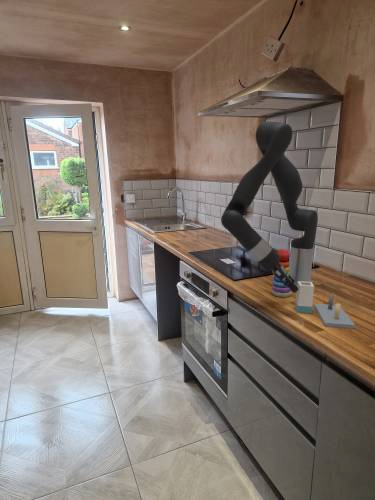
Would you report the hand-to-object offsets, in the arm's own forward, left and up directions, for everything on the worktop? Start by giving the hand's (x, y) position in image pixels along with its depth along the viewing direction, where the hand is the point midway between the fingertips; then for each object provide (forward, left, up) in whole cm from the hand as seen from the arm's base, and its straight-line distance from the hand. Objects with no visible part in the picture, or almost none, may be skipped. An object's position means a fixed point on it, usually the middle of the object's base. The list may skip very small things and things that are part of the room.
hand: (294, 286), depth 115 cm
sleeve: (0, +4, -9) cm, 9 cm away
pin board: (+4, +13, -9) cm, 16 cm away
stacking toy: (-15, -2, -9) cm, 18 cm away
